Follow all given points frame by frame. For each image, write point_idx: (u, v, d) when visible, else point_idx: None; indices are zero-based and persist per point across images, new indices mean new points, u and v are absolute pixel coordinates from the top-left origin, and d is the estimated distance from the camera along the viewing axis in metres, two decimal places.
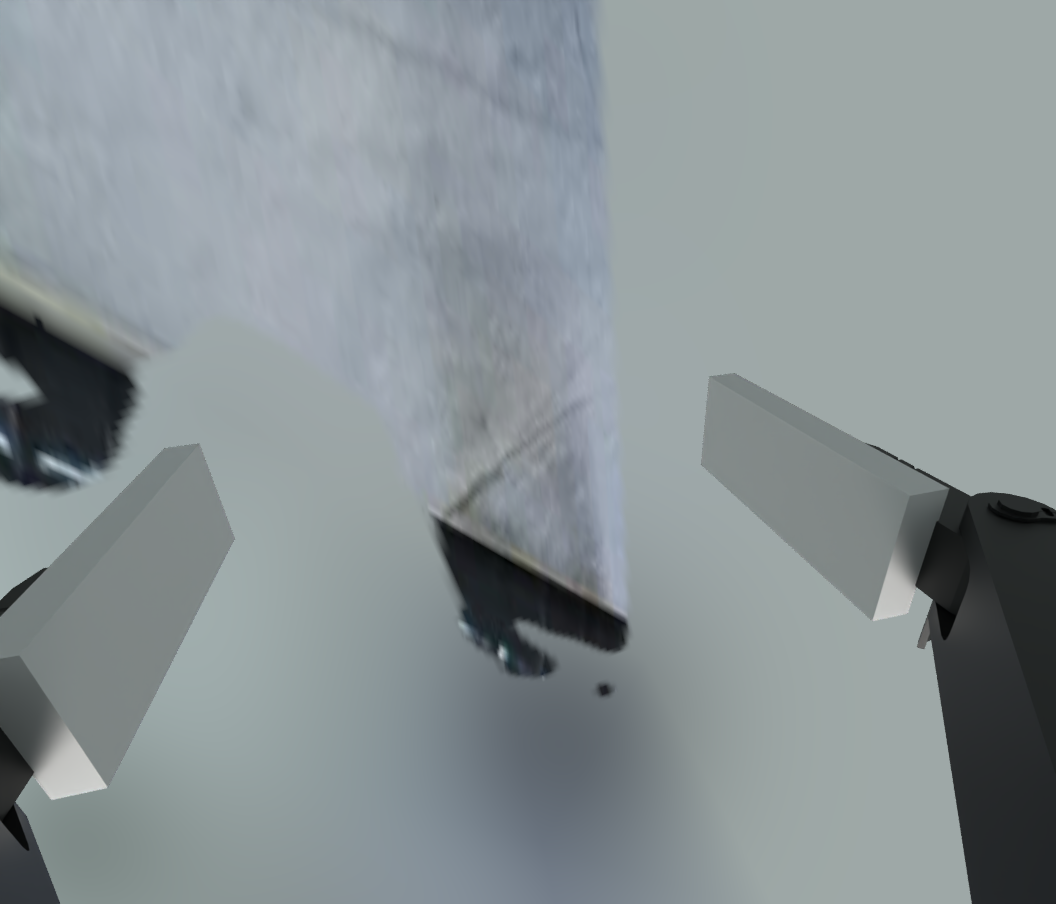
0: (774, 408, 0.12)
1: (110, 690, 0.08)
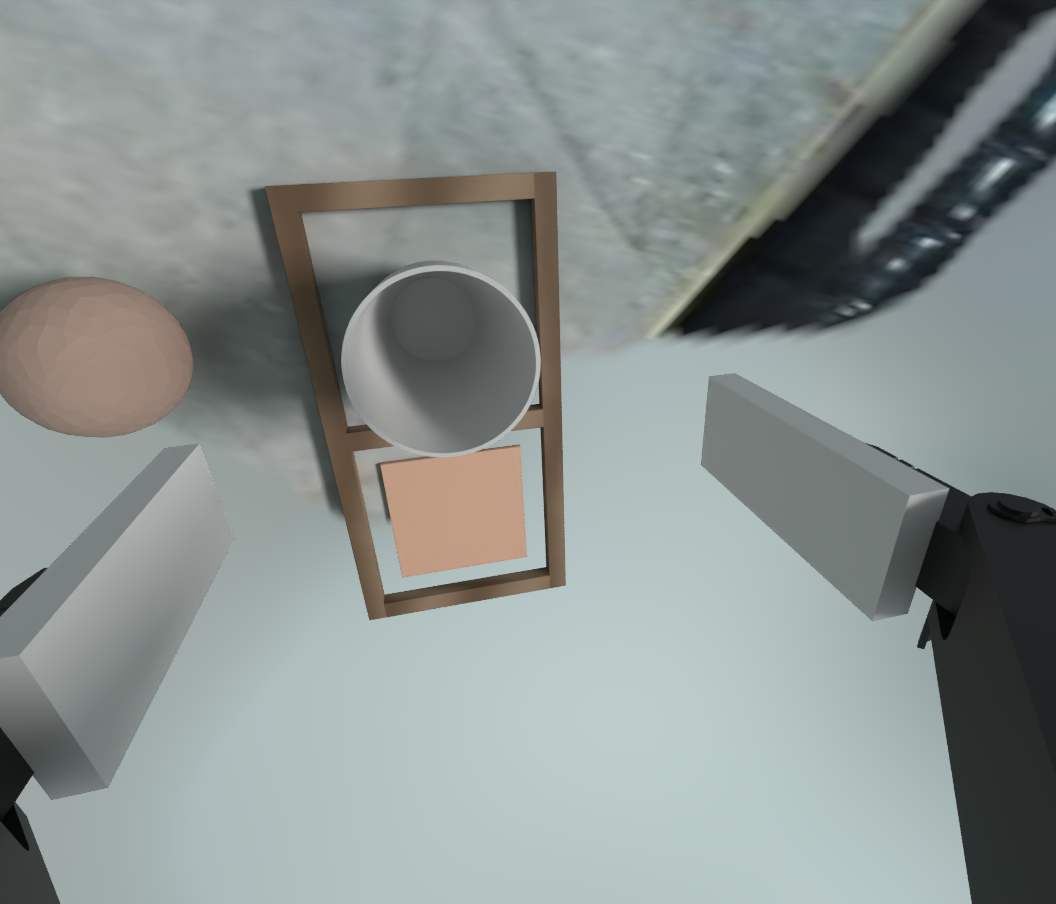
0: (774, 408, 0.12)
1: (110, 690, 0.08)
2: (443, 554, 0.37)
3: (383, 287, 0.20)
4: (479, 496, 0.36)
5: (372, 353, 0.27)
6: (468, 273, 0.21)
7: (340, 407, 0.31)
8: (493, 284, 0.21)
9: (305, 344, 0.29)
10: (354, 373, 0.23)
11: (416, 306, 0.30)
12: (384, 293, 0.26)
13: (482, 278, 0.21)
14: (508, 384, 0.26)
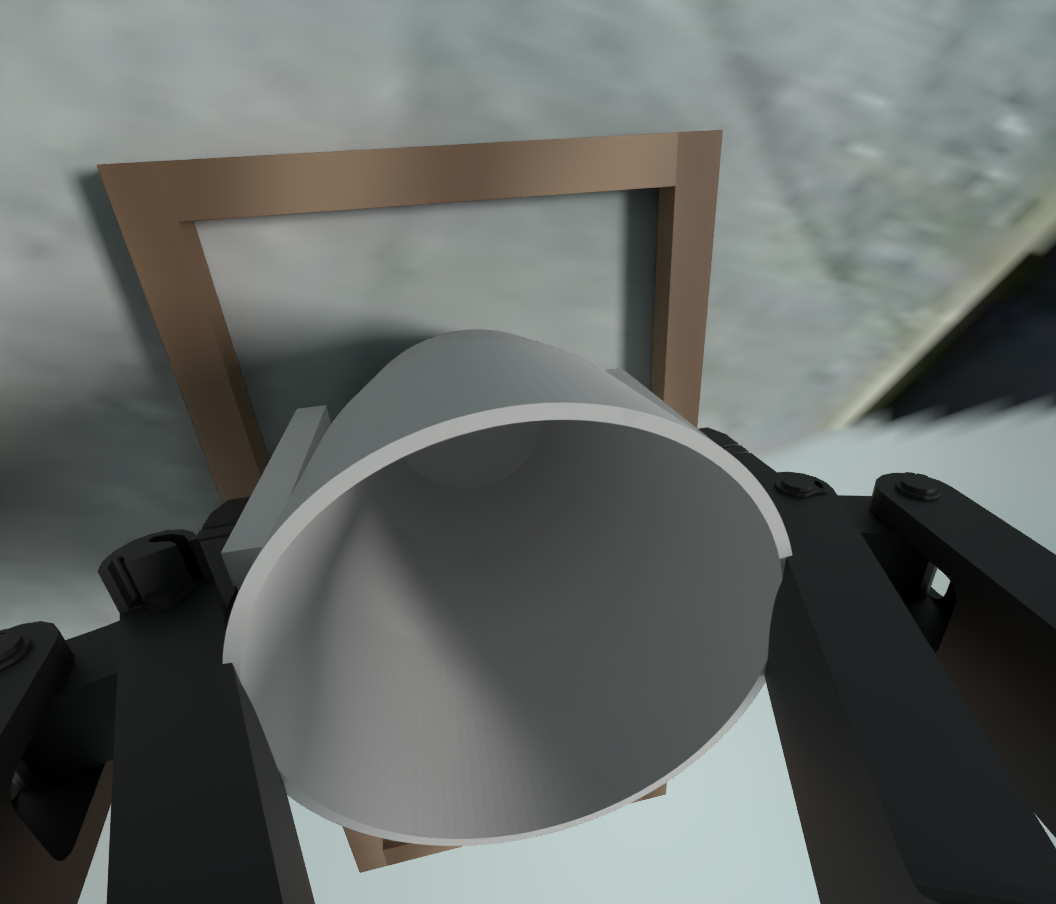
0: None
1: None
2: None
3: (348, 484, 0.06)
4: None
5: (346, 525, 0.12)
6: (630, 422, 0.06)
7: None
8: (701, 447, 0.07)
9: (219, 480, 0.15)
10: (283, 660, 0.08)
11: None
12: None
13: (671, 433, 0.06)
14: (647, 599, 0.12)
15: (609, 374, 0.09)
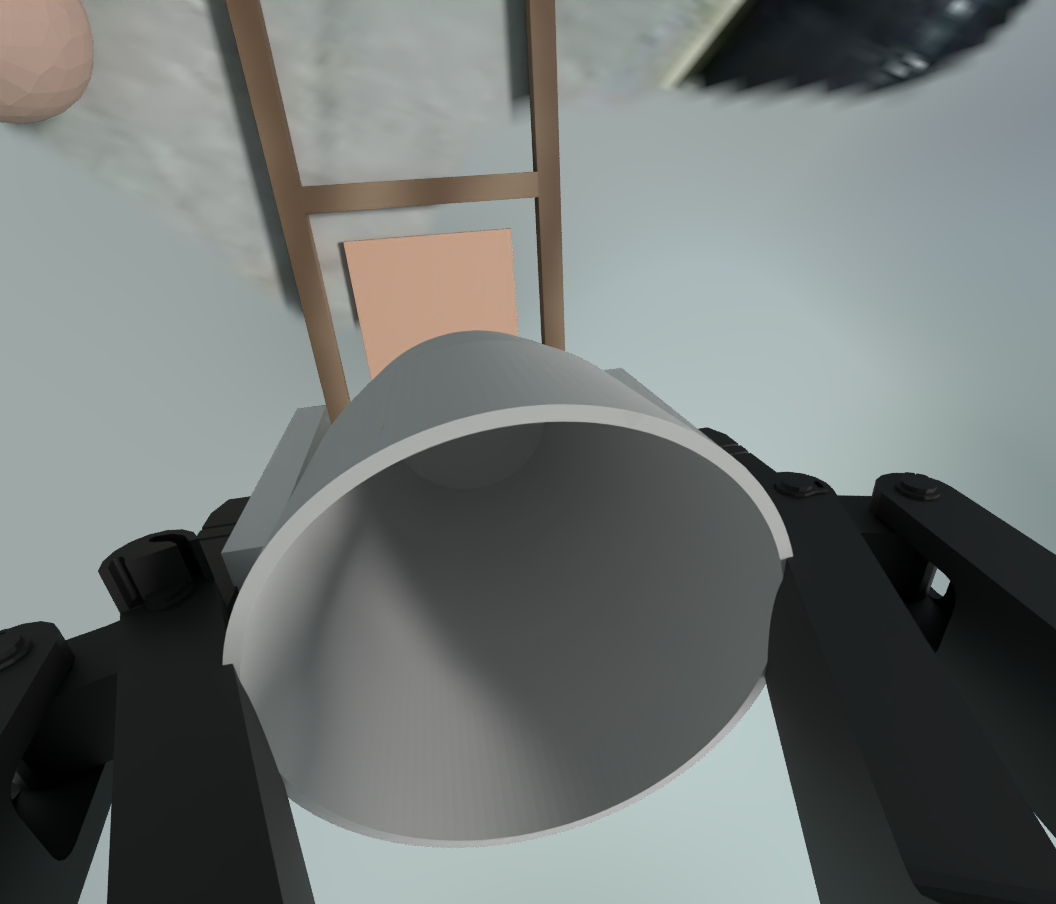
0: None
1: None
2: None
3: (348, 486, 0.06)
4: (464, 295, 0.30)
5: (346, 526, 0.12)
6: (631, 424, 0.06)
7: (289, 149, 0.25)
8: (702, 449, 0.07)
9: (240, 49, 0.23)
10: (283, 662, 0.08)
11: None
12: None
13: (672, 435, 0.06)
14: (648, 600, 0.12)
15: (609, 375, 0.09)
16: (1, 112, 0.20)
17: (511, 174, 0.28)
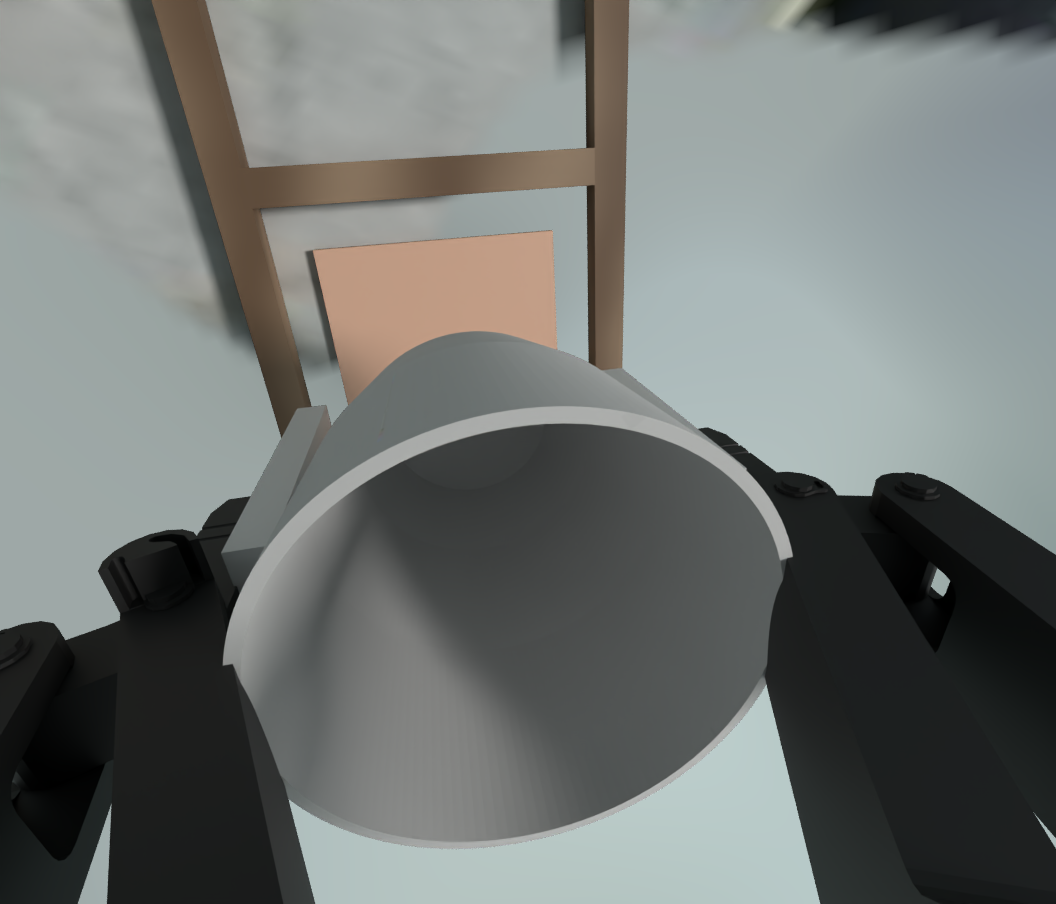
0: None
1: None
2: None
3: (348, 487, 0.06)
4: (485, 323, 0.22)
5: (346, 526, 0.12)
6: (631, 426, 0.06)
7: (226, 110, 0.17)
8: (702, 451, 0.07)
9: None
10: (283, 663, 0.08)
11: None
12: None
13: (672, 437, 0.06)
14: (648, 601, 0.12)
15: (609, 376, 0.09)
16: None
17: (557, 151, 0.19)
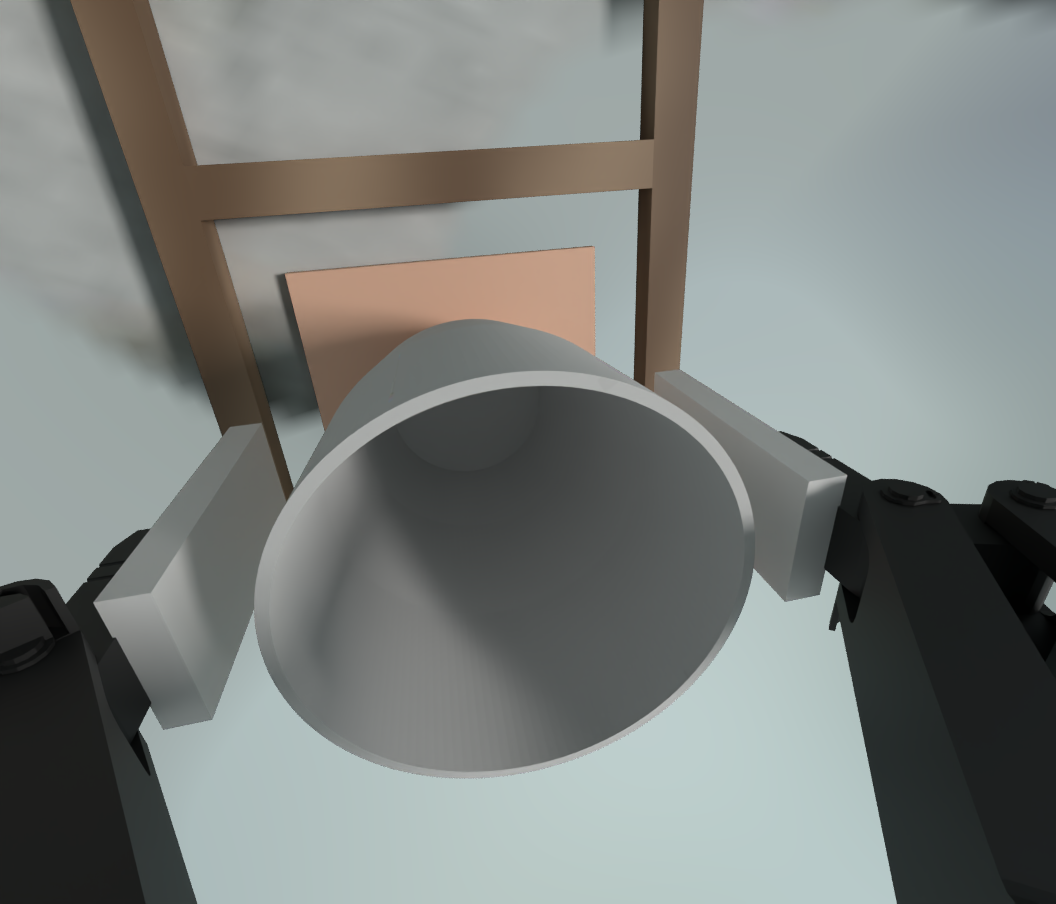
0: (707, 402, 0.13)
1: (210, 635, 0.09)
2: None
3: (365, 439, 0.07)
4: None
5: (354, 498, 0.13)
6: (606, 388, 0.07)
7: (160, 86, 0.12)
8: (668, 412, 0.08)
9: None
10: (302, 607, 0.09)
11: None
12: None
13: (641, 399, 0.07)
14: (631, 566, 0.13)
15: None
16: None
17: (605, 144, 0.14)
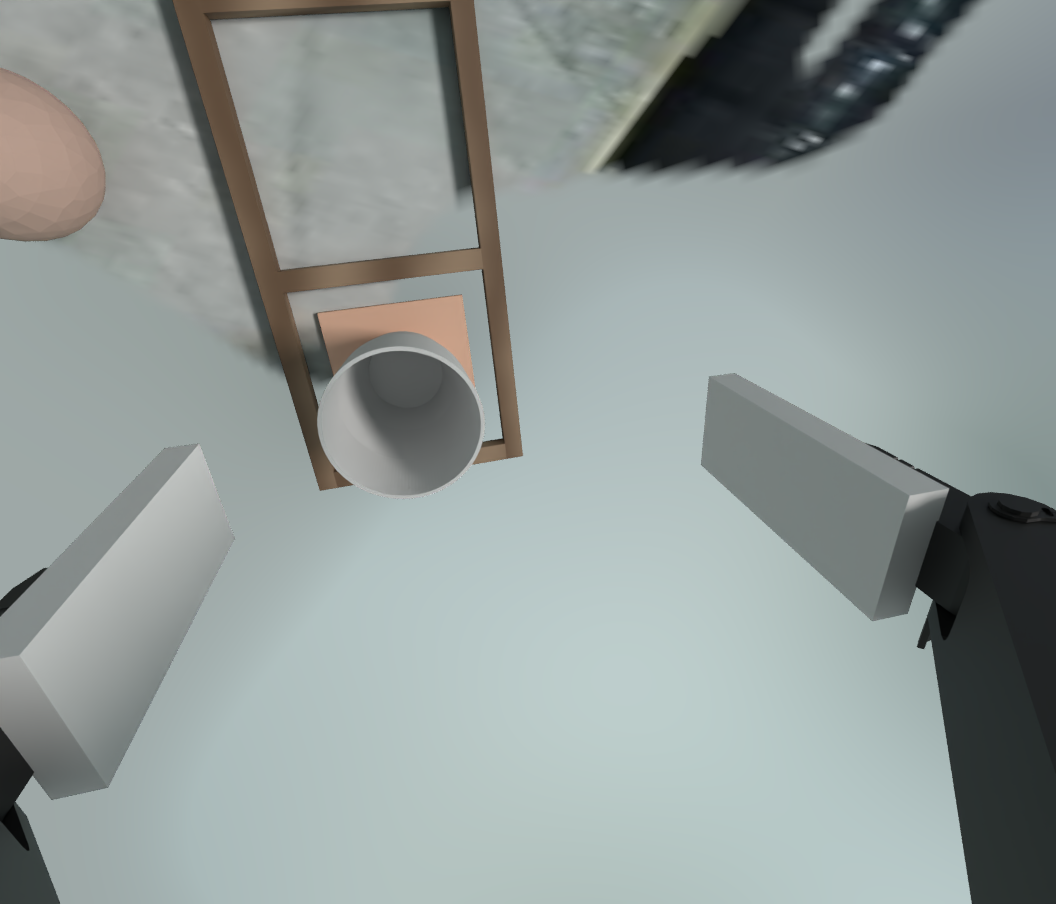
0: (774, 408, 0.12)
1: (110, 690, 0.08)
2: None
3: (348, 366, 0.25)
4: None
5: (349, 409, 0.31)
6: (417, 351, 0.25)
7: (268, 242, 0.30)
8: (439, 358, 0.25)
9: (225, 167, 0.28)
10: (330, 432, 0.27)
11: (389, 363, 0.35)
12: None
13: (429, 354, 0.25)
14: (464, 432, 0.30)
15: (434, 344, 0.28)
16: (33, 237, 0.25)
17: (458, 252, 0.32)
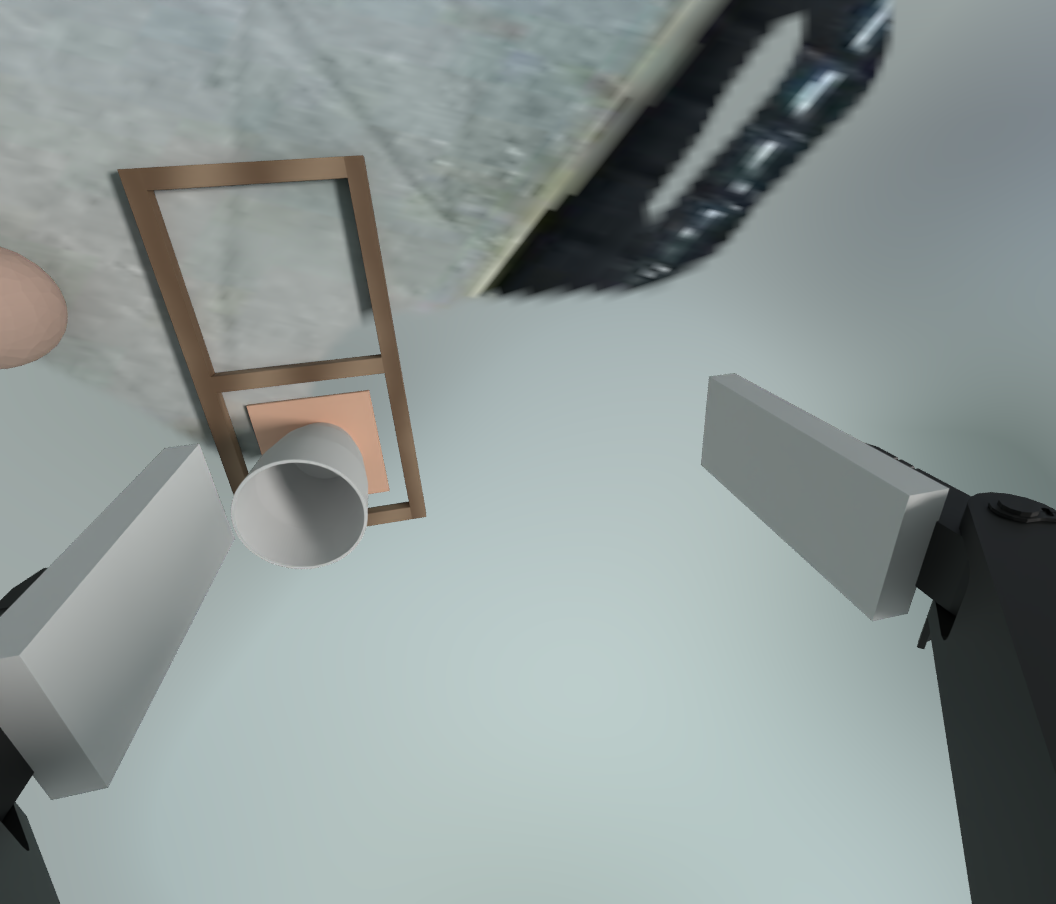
0: (774, 408, 0.12)
1: (110, 690, 0.08)
2: None
3: (254, 474, 0.32)
4: None
5: (268, 489, 0.39)
6: (309, 462, 0.32)
7: (203, 354, 0.37)
8: (327, 467, 0.33)
9: (166, 300, 0.35)
10: (245, 517, 0.35)
11: None
12: None
13: (319, 464, 0.33)
14: (360, 511, 0.38)
15: (331, 446, 0.36)
16: (8, 367, 0.32)
17: (362, 360, 0.40)
